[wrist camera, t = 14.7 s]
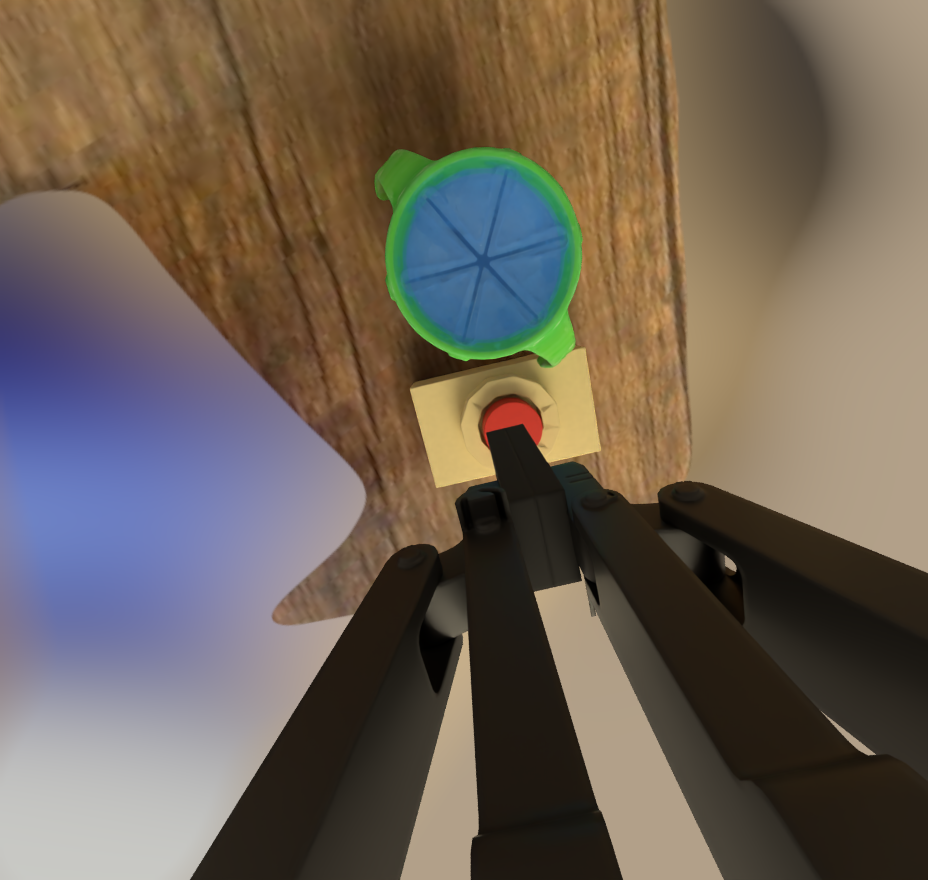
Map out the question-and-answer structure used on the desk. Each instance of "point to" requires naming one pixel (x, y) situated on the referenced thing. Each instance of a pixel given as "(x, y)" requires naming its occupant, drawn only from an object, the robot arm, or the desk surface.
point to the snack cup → (482, 253)
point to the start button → (512, 417)
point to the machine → (474, 390)
